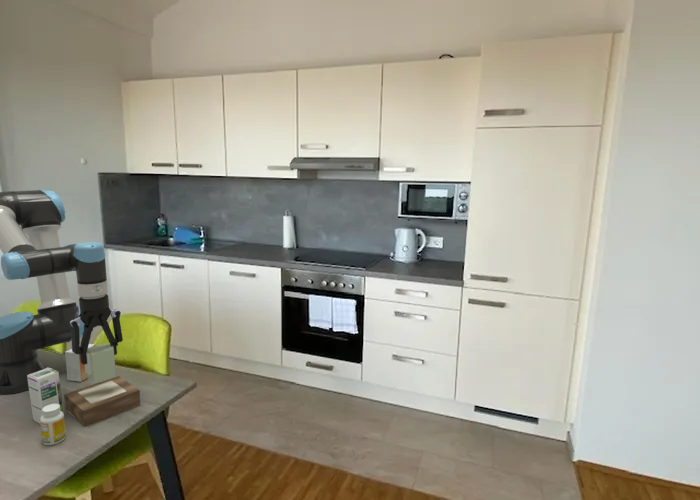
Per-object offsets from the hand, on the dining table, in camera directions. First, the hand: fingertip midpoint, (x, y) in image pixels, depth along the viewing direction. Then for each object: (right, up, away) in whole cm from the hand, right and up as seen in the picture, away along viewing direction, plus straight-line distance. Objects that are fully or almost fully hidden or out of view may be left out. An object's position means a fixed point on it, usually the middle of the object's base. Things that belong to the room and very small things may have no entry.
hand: (100, 369), depth 137 cm
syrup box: (-13, -13, -4) cm, 19 cm away
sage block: (0, -2, 0) cm, 2 cm away
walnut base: (0, -12, +3) cm, 12 cm away
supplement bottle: (-5, -16, -14) cm, 21 cm away
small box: (-18, -8, +22) cm, 29 cm away
